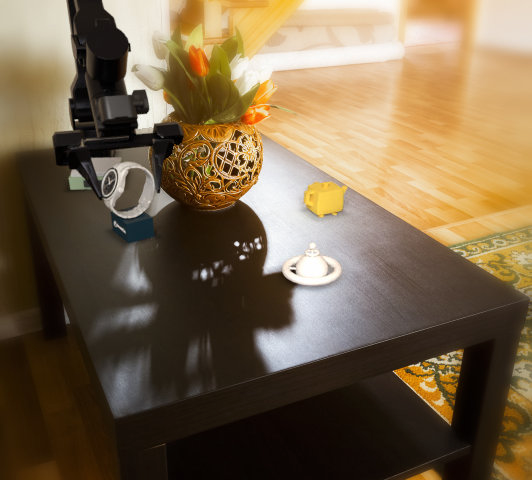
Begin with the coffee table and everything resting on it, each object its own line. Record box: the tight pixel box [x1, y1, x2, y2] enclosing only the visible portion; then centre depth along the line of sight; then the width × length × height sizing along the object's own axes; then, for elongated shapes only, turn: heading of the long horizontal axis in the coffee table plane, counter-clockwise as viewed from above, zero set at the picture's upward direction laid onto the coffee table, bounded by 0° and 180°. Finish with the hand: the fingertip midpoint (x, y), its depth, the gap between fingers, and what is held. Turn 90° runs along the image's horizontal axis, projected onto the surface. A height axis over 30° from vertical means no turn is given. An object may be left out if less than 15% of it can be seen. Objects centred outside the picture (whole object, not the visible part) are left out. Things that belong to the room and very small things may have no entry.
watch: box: [100, 160, 156, 244], centre depth 94 cm, size 6×8×11 cm
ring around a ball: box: [281, 242, 343, 287], centre depth 83 cm, size 8×6×8 cm
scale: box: [68, 156, 126, 191], centre depth 116 cm, size 9×9×3 cm
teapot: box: [302, 181, 348, 218], centre depth 104 cm, size 8×6×5 cm
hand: (130, 195), depth 92 cm, fingers closed on watch, 8 cm apart
